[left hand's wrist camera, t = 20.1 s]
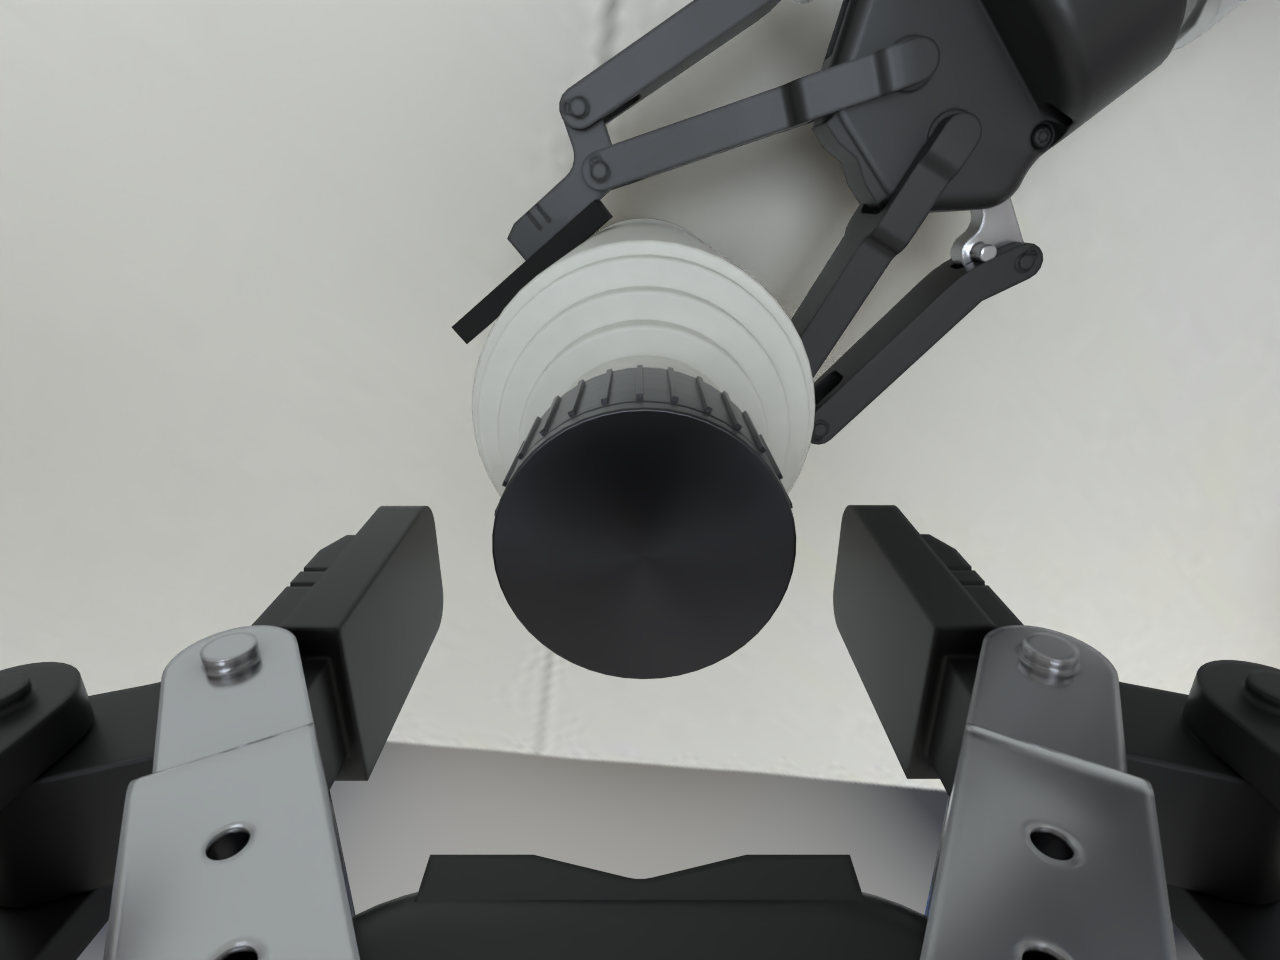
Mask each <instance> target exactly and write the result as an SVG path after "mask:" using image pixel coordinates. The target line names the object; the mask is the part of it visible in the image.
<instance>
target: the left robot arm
mask: <svg viewBox="0 0 1280 960" xmlns="http://www.w3.org/2000/svg"><path fill="white" fill-rule="evenodd" d="M290 584H291V585H290V587H286V588H285V589H284V590H283V592H282V593H281V594H280V595H279V596H278V597H277V598H276V599H275V600H274V601H273V603H272V604H271V605H270V606H269V607H268V608H267V609H266V610H265V611H264V612H263V613H262V615H261V616H260V617H259V618H258V619H257V620H256V621H255V622H254V623H253V624H252V626H246V627H239V628H235V629H230V630H227V631H223V632H220V633H217V634H214V635H211V636H209V637H206V638H204V639H202V640H200V641H198V642H196V643H194V644H192V645H191V646H189V647H187V648H186V649H184V650H183V651H181V652H180V653H179V654H178V655H176V656H175V657H174V658H173V659H172V660H171V661H170V662H169V663H168V665H167V666H166V668H165V669H164V671H163V674H162V679H161V682H159V683H154V684H150V685H145V686H139V687H134V688H129V689H124V690H118V691H113V692H108V693H103V694H97V695H92V696H88V695H87V692H86V689H85V686H84V684H83V681H82V678H81V675H80V673H79V671H78V670H77V669H76V668H75V667H73V666H71V665H68V664H65V663H58V662H41V663H31V664H26V665H20V666H16V667H12V668H8V669H4V670H1V671H0V960H76V959H77V958H78V957H79V956H80V954H81V953H82V952H83V951H84V949H85V948H86V947H87V946H88V945H89V943H90V942H91V941H92V940H93V938H94V937H95V936H96V935H97V933H98V932H99V931H100V930H101V928H102V927H103V926H104V925H105V924H106V922H107V921H108V927H107V934H106V942H105V949H104V956H103V960H1177V956H1176V949H1175V942H1174V935H1173V927H1172V921H1173V922H1174V923H1175V925H1176V926H1177V927H1178V928H1179V930H1180V931H1181V932H1182V933H1183V935H1184V936H1185V937H1186V938H1187V939H1188V941H1189V942H1190V943H1191V945H1192V946H1193V947H1194V948H1195V949H1196V951H1197V952H1198V953H1199V954H1200V956H1201V957H1202V958H1203V959H1204V960H1280V670H1279V669H1276V668H1273V667H1269V666H1265V665H1261V664H1257V663H1251V662H1246V661H1237V660H1219V661H1212V662H1209V663H1206V664H1204V665H1202V666H1201V667H1200V668H1199V669H1198V671H1197V674H1196V677H1195V679H1194V682H1193V685H1192V688H1191V691H1190V693H1189V695H1186V694H1180V693H1175V692H1170V691H1164V690H1159V689H1154V688H1149V687H1143V686H1138V685H1133V684H1127V683H1123V682H1119V679H1118V674H1117V671H1116V669H1115V668H1114V666H1113V665H1112V663H1111V662H1110V661H1109V660H1108V659H1107V658H1106V657H1105V656H1104V655H1102V654H1101V653H1100V652H1099V651H1097V650H1096V649H1094V648H1093V647H1091V646H1089V645H1088V644H1086V643H1084V642H1082V641H1080V640H1078V639H1076V638H1074V637H1071V636H1069V635H1066V634H1063V633H1060V632H1057V631H1053V630H1050V629H1045V628H1041V627H1034V626H1025V625H1023V624H1022V623H1021V621H1020V620H1019V619H1018V618H1017V617H1016V616H1015V615H1014V614H1013V613H1012V611H1011V610H1010V609H1009V608H1008V607H1007V606H1006V605H1005V604H1004V603H1003V601H1002V600H1001V599H1000V598H999V597H998V596H997V595H996V594H995V593H994V591H993V590H992V589H991V588H990V587H989V586H985V581H984V580H983V579H982V578H981V577H980V576H979V575H978V574H977V573H976V571H972V570H971V566H970V565H969V564H968V563H967V561H966V560H965V559H964V558H963V557H962V556H961V555H960V554H959V553H958V551H957V550H956V549H954V548H952V547H950V546H949V545H947V544H945V543H943V542H942V541H940V540H938V539H936V538H935V537H933V536H931V535H929V534H919V533H918V531H917V530H916V529H915V528H914V527H913V525H912V524H911V523H910V522H909V521H908V519H907V518H906V517H905V516H904V515H903V513H902V512H901V511H900V510H899V509H898V508H897V507H896V506H895V505H848V506H847V507H846V509H845V511H844V513H843V517H842V523H841V532H840V540H839V548H838V557H837V565H836V574H835V582H834V592H833V605H834V615H835V620H836V624H837V627H838V630H839V632H840V634H841V636H842V638H843V641H844V643H845V645H846V647H847V649H848V651H849V654H850V656H851V658H852V660H853V662H854V664H855V667H856V669H857V671H858V673H859V675H860V677H861V680H862V682H863V684H864V686H865V688H866V690H867V693H868V695H869V697H870V699H871V701H872V704H873V706H874V708H875V710H876V712H877V714H878V717H879V719H880V721H881V723H882V725H883V727H884V730H885V732H886V734H887V736H888V738H889V740H890V743H891V745H892V747H893V749H894V751H895V753H896V756H897V758H898V760H899V762H900V764H901V766H902V769H903V771H904V773H905V775H906V777H907V779H940V780H941V782H942V784H943V785H944V787H945V789H946V791H947V793H948V795H949V800H948V804H947V809H946V814H945V819H944V823H943V828H942V833H941V838H940V843H939V847H938V852H937V857H936V862H935V867H934V872H933V877H932V882H931V886H930V891H929V896H928V901H927V906H926V911H925V915H923V914H921V913H919V912H916V911H914V910H912V909H910V908H908V907H905V906H903V905H901V904H898V903H895V902H892V901H890V900H887V899H884V898H881V897H878V896H875V895H871V894H868V893H864V892H861V889H860V886H859V882H858V880H857V876H856V873H855V870H854V867H853V864H852V861H851V857H850V855H744V856H740V857H736V858H732V859H727V860H723V861H719V862H715V863H711V864H707V865H703V866H698V867H694V868H690V869H686V870H682V871H678V872H674V873H670V874H665V875H661V876H657V877H653V878H647V879H632V878H627V877H623V876H618V875H615V874H610V873H606V872H602V871H598V870H594V869H590V868H586V867H581V866H577V865H573V864H569V863H565V862H561V861H557V860H553V859H549V858H544V857H540V856H536V855H430V858H429V860H428V864H427V867H426V870H425V873H424V876H423V879H422V882H421V886H420V889H419V892H416V893H412V894H409V895H405V896H402V897H399V898H396V899H393V900H390V901H388V902H385V903H382V904H379V905H377V906H374V907H372V908H370V909H368V910H366V911H364V912H361V913H359V914H357V915H355V911H354V906H353V901H352V896H351V891H350V886H349V882H348V877H347V872H346V867H345V862H344V857H343V852H342V848H341V843H340V838H339V833H338V828H337V823H336V818H335V813H334V809H333V804H332V800H331V795H330V788H331V786H332V784H333V782H334V781H367V780H368V779H369V777H370V775H371V772H372V770H373V768H374V766H375V764H376V762H377V760H378V758H379V755H380V753H381V751H382V749H383V747H384V745H385V743H386V740H387V738H388V736H389V734H390V732H391V730H392V728H393V725H394V723H395V721H396V719H397V717H398V715H399V713H400V711H401V708H402V706H403V704H404V702H405V700H406V698H407V696H408V693H409V691H410V689H411V687H412V685H413V683H414V681H415V678H416V676H417V674H418V672H419V670H420V668H421V666H422V664H423V661H424V659H425V657H426V655H427V653H428V651H429V649H430V646H431V644H432V642H433V640H434V638H435V636H436V634H437V631H438V629H439V626H440V623H441V618H442V611H443V588H442V579H441V571H440V563H439V555H438V546H437V538H436V530H435V522H434V517H433V513H432V511H431V509H430V508H429V507H428V506H381V507H379V508H378V509H377V510H376V512H375V513H374V514H373V515H372V516H371V518H370V519H369V520H368V521H367V522H366V523H365V525H364V526H363V527H362V528H361V529H360V531H359V532H358V533H357V534H356V535H346V536H344V537H343V538H341V539H339V540H337V541H336V542H334V543H332V544H330V545H329V546H327V547H325V548H323V549H321V550H320V551H319V552H318V553H317V554H316V555H315V556H314V557H313V559H312V560H311V561H310V562H309V563H308V564H307V565H306V566H305V567H304V572H300V573H299V574H298V575H297V576H296V577H295V578H294V579H293V581H292V582H291V583H290Z"/></svg>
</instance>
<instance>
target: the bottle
mask: <svg viewBox="0 0 1280 960" xmlns="http://www.w3.org/2000/svg"><path fill="white" fill-rule="evenodd" d="M637 365H643V367H647V368H661V369H667V370H668V367H671V368H673V369H674V371H676V372H680V373H683V374H686V375H689V376H692V377H695V378H697V376H700V377H702V378H703V381H704V382H705V383H707V384H709V385H711V386H712V387H714V388H715V389H717V390H718V391H720V392H721V393H722V392H723V391H725V392H727V393H728V395H729V397H730V400H731V401H732V402H733V403H734V404H735V405H736V406H737V407H738V408H739V409H740V410H741V411H742V412H744V411H745V410H746V412H747V413H748V414H749V416H750V418H751V420H752V422H753V424H754V426H755V428H756V430H757V432H758V434H759V435H760V434H762V436H763V438H764V440H765V442H766V444H767V446H768V448H769V450H770V452H771V454H772V456H773V458H774V460H775V462H776V464H777V466H778V468H779V470H780V472H781V474H782V476H783V478H782V479H780V480H781V482H782V484H783V486H784V488H785V490H786V492H787V495H788V493H789V492H790V490H791V489H792V487H793V485H794V483H795V481H796V479H797V477H798V475H799V473H800V471H801V469H802V467H803V465H804V462H805V459H806V456H807V453H808V450H809V447H810V442H811V437H812V433H813V428H814V416H815V394H814V382H813V377H812V372H811V368H810V363H809V360H808V357H807V354H806V351H805V348H804V346H803V343H802V340H801V338H800V336H799V334H798V333H797V331H796V329H795V327H794V325H793V323H792V321H791V319H790V318H789V317H788V315H787V314H786V313H785V311H784V310H783V308H782V307H781V306H780V304H779V303H778V301H777V300H776V299H775V298H774V297H773V296H772V295H771V294H770V293H769V292H768V291H767V290H766V289H765V288H764V287H763V286H762V285H761V284H760V283H759V282H757V281H756V280H755V279H754V278H752V277H751V276H750V275H749V274H747V273H746V272H745V271H744V270H742V269H741V268H739V267H738V266H736V265H735V264H734V263H732V262H731V261H729V260H728V259H726V258H725V257H723V256H722V255H721V254H719V253H718V252H716V251H715V250H713V249H712V248H710V247H709V246H708V245H706V244H705V243H703V242H702V241H700V240H699V239H698V238H696V237H695V236H693V235H692V234H690V233H689V232H687V231H686V230H684V229H682V228H680V227H679V226H676V225H674V224H671V223H669V222H665V221H661V220H657V219H649V218H637V219H630V220H624V221H621V222H618V223H614V224H612V225H610V226H608V227H606V228H604V229H602V230H600V231H599V232H597V233H596V234H594V235H593V236H592V237H590V238H589V239H587V240H586V241H585V242H583V243H582V244H580V245H579V246H578V247H576V248H575V249H573V250H572V251H571V252H569V253H568V254H566V255H565V256H564V257H562V258H561V259H559V260H558V261H556V262H555V263H554V264H552V265H551V266H549V267H548V268H547V269H545V270H544V271H542V272H541V273H540V274H538V275H537V276H536V277H535V278H534V279H532V280H531V281H530V282H529V283H528V284H527V285H526V286H524V287H523V288H522V289H521V290H520V291H519V292H518V293H517V294H516V295H515V297H514V298H513V299H512V300H511V301H510V302H509V304H508V305H507V306H506V307H505V308H504V310H503V311H502V313H501V314H500V316H499V317H498V319H497V321H496V322H495V324H494V325H493V327H492V329H491V331H490V333H489V335H488V337H487V339H486V342H485V344H484V346H483V348H482V351H481V355H480V358H479V361H478V365H477V368H476V372H475V379H474V385H473V393H472V416H473V425H474V433H475V438H476V442H477V446H478V450H479V453H480V457H481V459H482V462H483V464H484V466H485V469H486V471H487V474H488V476H489V478H490V480H491V481H492V483H493V485H494V487H495V488H496V490H497V492H498V494H499V495H500V496H502V494H503V492H504V490H505V488H506V487H504V486H502V484H503V481H504V479H505V477H506V475H507V473H508V471H509V469H510V467H511V465H512V463H513V461H514V459H515V457H516V455H517V453H518V451H519V449H520V447H521V445H522V443H523V441H525V439H526V437H527V435H528V433H529V431H530V429H531V427H532V425H533V423H534V421H535V419H536V418H537V416H538V417H540V418H541V417H542V416H543V415H544V413H545V412H546V411H547V410H548V409H549V408H550V407H551V405H552V402H553V400H554V398H555V397H556V396H557V395H558V396H559V397H561V396H563V395H564V394H565V393H566V392H568V391H569V390H571V389H573V388H574V387H576V386H577V384H578V382H579V381H580V380H582V379H584V381H587V380H589V379H591V378H593V377H596V376H599V375H602V374H605V373H606V371H607V370H608V369H612V370H613V371H616V370H622V369H627V368H637Z"/></svg>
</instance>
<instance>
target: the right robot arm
mask: <svg viewBox="0 0 1280 960" xmlns="http://www.w3.org/2000/svg"><path fill="white" fill-rule="evenodd" d="M780 1H781V0H694V1H692V2H691V3H689V4H688V5H687V6H685V7H684V8H682V9H681V10H679V11H678V12H677V13H675V14H674V15H672V16H671V17H670V18H668V19H667V20H665V21H664V22H662V23H661V24H660V25H658V26H657V27H655V28H654V29H652V30H651V31H650V32H648V33H647V34H645V35H644V36H643V37H641V38H640V39H638V40H637V41H635V42H634V43H633V44H631V45H630V46H628V47H627V48H625V49H624V50H623V51H621V52H620V53H618V54H617V55H615V56H614V57H613V58H611V59H610V60H608V61H607V62H606V63H604V64H603V65H601V66H600V67H598V68H597V69H596V70H594V71H593V72H591V73H590V74H588V75H587V76H586V77H584V78H583V79H581V80H580V81H579V82H577V83H576V84H574V85H573V86H571V87H570V88H569V89H567V90H566V92H565V93H564V94H563V95H562V97H561V100H560V114H561V116H562V119H563V120H564V123H565V126H566V129H567V132H568V135H569V138H570V141H571V143H572V146H573V151H574V163H573V167H572V169H571V171H570V172H569V173H568V175H567V176H566V177H565V178H564V179H563V180H562V181H560V182H559V183H558V184H557V185H556V186H555V187H554V188H553V189H552V190H551V191H550V192H548V193H547V194H546V195H545V196H544V197H543V198H542V199H541V200H540V201H539V202H537V204H535V205H534V206H533V207H532V208H531V209H530V210H529V211H528V212H527V213H525V214H524V215H523V216H522V217H521V218H520V219H519V220H518V221H517V222H516V223H514V225H513V227H512V229H511V232H510V234H509V236H508V238H507V239H508V240H509V241H510V242H511V244H512V245H513V246H514V247H515V248H516V250H517V251H518V252H519V253H520V254H521V256H522V257H523V258H524V259H525V260H526V261H525V262H524V263H523V264H522V265H521V266H520V267H519V268H518V269H516V270H515V271H514V272H513V273H512V274H511V275H510V276H509V277H507V278H506V279H505V280H504V281H503V282H502V283H501V284H500V285H498V286H497V287H496V288H495V289H494V290H493V291H492V292H491V293H489V294H488V295H487V296H486V297H485V298H484V299H483V300H482V301H481V302H479V303H478V304H477V305H476V306H475V307H474V308H473V309H472V310H470V311H469V312H468V313H467V314H466V315H465V316H464V317H463V318H461V319H460V320H459V321H458V322H457V323H456V324H455V325H454V326H452V328H453V329H454V330H455V332H456V333H457V334H458V335H459V336H460V337H461V338H462V339H463V340H464V342H465V343H466V344H468V343H469V342H470V341H471V340H472V339H473V338H475V337H476V336H477V335H478V334H479V333H481V332H482V331H483V330H484V329H485V328H486V327H488V326H489V325H490V324H491V323H492V322H493V321H494V320H496V319H497V318H498V317H499V316H500V314H501V313H502V311H503V310H504V308H505V307H506V306H507V305H508V304H509V302H510V301H511V300H512V299H513V298H514V297H515V295H516V294H517V293H518V292H519V291H520V290H521V289H522V288H523V287H524V286H526V285H527V284H528V283H529V282H530V281H531V280H532V279H534V278H535V277H536V276H537V275H538V274H540V273H541V272H542V271H544V270H545V269H547V268H548V267H549V266H551V265H552V264H554V263H555V262H556V261H558V260H559V259H561V258H562V257H564V256H565V255H566V254H568V253H569V252H571V251H572V250H573V249H575V248H576V247H578V246H579V245H580V244H582V243H583V242H585V241H586V240H587V239H588V238H589V237H590V236H591V235H593V234H594V233H595V232H596V231H597V230H598V229H599V228H600V227H602V226H603V225H604V224H605V223H606V222H607V221H608V220H610V219H611V218H612V217H613V216H612V215H611V214H610V213H609V211H608V210H607V209H606V207H605V206H604V205H603V203H602V202H601V201H600V199H601V198H603V197H604V196H605V195H606V194H607V193H608V192H609V191H610V190H613V189H616V188H619V187H622V186H625V185H628V184H631V183H634V182H637V181H640V180H643V179H646V178H648V177H651V176H654V175H657V174H660V173H663V172H666V171H669V170H672V169H675V168H678V167H681V166H684V165H687V164H690V163H692V162H695V161H698V160H701V159H704V158H707V157H710V156H713V155H716V154H719V153H722V152H725V151H728V150H731V149H734V148H736V147H739V146H742V145H745V144H748V143H751V142H754V141H757V140H760V139H763V138H766V137H769V136H772V135H775V134H778V133H781V132H784V131H787V130H790V129H793V128H796V127H799V126H802V125H805V124H808V123H811V122H814V125H815V126H814V127H812V128H811V129H812V131H813V132H814V134H815V135H816V137H817V138H818V140H819V141H820V143H821V144H822V146H823V148H825V149H826V150H827V151H828V152H829V153H830V154H832V155H833V156H834V157H835V158H836V159H837V160H839V161H840V162H841V164H842V167H843V170H844V174H845V177H846V180H847V183H848V186H849V188H850V189H851V191H852V192H853V194H854V196H855V197H856V199H857V200H858V202H859V203H860V205H859V207H858V208H857V210H856V212H855V213H854V215H853V216H852V218H851V220H850V221H849V223H848V225H847V227H846V231H845V235H844V237H843V239H842V240H841V242H840V243H839V245H838V247H837V248H836V250H835V251H834V253H833V254H832V256H831V258H830V259H829V261H828V262H827V264H826V266H825V267H824V269H823V270H822V272H821V273H820V275H819V277H818V278H817V280H816V281H815V283H814V285H813V286H812V288H811V289H810V291H809V292H808V294H807V296H806V297H805V299H804V300H803V302H802V303H801V305H800V307H799V308H798V310H797V311H796V313H795V315H794V316H793V318H792V319H791V321H792V323H793V325H794V327H795V329H796V331H797V333H798V334H799V336H800V338H801V340H802V343H803V346H804V348H805V351H806V354H807V357H808V360H809V363H810V368H811V372H812V377H814V376H815V374H816V373H817V371H818V370H819V368H820V367H821V365H822V364H823V362H824V361H825V359H826V358H827V356H828V355H829V353H830V352H831V350H832V349H833V347H834V346H835V344H836V343H837V341H838V340H839V338H840V337H841V335H842V334H843V332H844V331H845V329H846V328H847V326H848V325H849V323H850V322H851V320H852V319H853V317H854V316H855V314H856V313H857V311H858V310H859V308H860V307H861V305H862V304H863V302H864V301H865V299H866V298H867V296H868V295H869V293H870V292H871V290H872V289H873V287H874V286H875V284H876V283H877V281H878V280H879V278H880V277H881V275H882V274H883V272H884V271H885V269H886V268H887V266H888V265H889V263H890V262H891V260H892V259H893V258H894V257H895V256H896V255H897V254H898V253H900V252H901V251H902V250H903V249H904V248H905V247H906V246H907V245H908V243H909V242H910V240H911V239H912V237H913V236H914V234H915V233H916V231H917V230H918V228H919V227H920V225H921V224H922V222H923V221H924V219H925V218H926V216H927V215H928V213H930V212H947V211H964V210H970V211H971V222H970V224H969V227H968V228H967V230H966V231H965V232H964V233H963V234H962V235H961V236H959V237H958V238H957V239H956V240H955V242H954V243H953V245H952V248H951V259H950V260H948V261H946V262H944V263H943V264H941V265H940V266H939V267H937V268H936V269H934V270H933V271H932V272H931V273H929V274H928V275H927V276H926V277H925V278H924V279H922V280H921V281H920V282H919V283H918V284H917V285H916V286H915V287H914V288H913V289H912V290H911V291H910V292H909V293H908V294H907V295H906V296H905V297H904V298H902V299H901V300H900V301H899V302H898V303H897V304H896V305H895V306H894V307H893V308H892V309H891V310H890V311H889V312H888V313H887V314H886V315H885V316H884V317H883V318H881V319H880V320H879V321H878V322H877V323H876V324H875V325H874V326H873V327H872V328H871V329H870V330H869V331H868V332H867V333H866V334H865V335H864V336H863V337H862V338H861V339H859V340H858V341H857V342H856V343H855V344H854V345H853V346H852V347H851V348H850V349H849V350H848V351H847V352H846V353H845V354H844V355H843V356H842V357H841V358H840V359H839V360H837V361H836V362H835V363H834V364H833V365H832V366H831V367H830V368H829V369H828V370H827V371H826V372H825V373H824V374H823V375H822V376H821V377H820V378H819V379H818V380H816V381H815V382H814V394H815V416H814V428H813V433H812V437H811V443H812V444H818V445H819V444H824V443H826V442H828V441H829V440H831V439H832V438H833V437H834V436H835V435H836V434H837V433H838V432H839V431H840V430H842V429H843V428H844V427H845V426H846V425H847V424H848V423H849V422H850V421H851V420H852V419H854V418H855V417H856V416H857V415H858V414H859V413H860V412H861V411H862V410H863V409H864V408H866V407H867V406H868V405H869V404H870V403H871V402H872V401H873V400H874V399H875V398H876V397H878V396H879V395H880V394H881V393H882V392H883V391H884V390H885V389H886V388H887V387H888V386H890V385H891V384H892V383H893V382H894V381H895V380H896V379H897V378H898V377H899V376H900V375H902V374H903V373H904V372H905V371H906V370H907V369H908V368H909V367H910V366H911V365H912V364H914V363H915V362H916V361H917V360H918V359H919V358H920V357H921V356H922V355H923V354H924V353H926V352H927V351H928V350H929V349H930V348H931V347H932V346H933V345H934V344H935V343H936V342H938V341H939V340H940V339H941V338H942V337H943V336H944V335H945V334H946V333H947V332H948V331H950V330H951V329H952V328H953V327H954V326H955V325H956V324H957V323H958V322H959V321H960V320H962V319H963V318H964V317H965V316H966V315H967V314H968V313H969V312H970V311H971V310H972V309H974V308H975V307H976V306H977V305H978V304H979V303H980V302H981V301H983V300H985V299H987V298H989V297H991V296H993V295H996V294H998V293H1000V292H1002V291H1004V290H1006V289H1008V288H1010V287H1012V286H1014V285H1017V284H1019V283H1021V282H1023V281H1025V280H1027V279H1029V278H1031V277H1032V276H1034V275H1035V274H1036V273H1037V272H1038V270H1039V269H1040V268H1041V265H1042V262H1043V253H1042V251H1041V249H1040V248H1039V247H1038V246H1036V245H1035V244H1031V243H1024V242H1023V239H1022V236H1021V232H1020V229H1019V225H1018V222H1017V218H1016V215H1015V211H1014V208H1013V205H1012V201H1011V198H1010V197H1011V196H1012V195H1013V194H1014V193H1015V192H1016V190H1017V189H1018V188H1019V186H1020V184H1021V183H1022V181H1023V179H1024V177H1025V175H1026V173H1027V172H1028V170H1029V169H1030V167H1031V166H1032V165H1033V164H1034V162H1035V161H1036V160H1037V159H1038V158H1039V157H1040V156H1041V155H1042V154H1043V153H1045V152H1046V151H1047V150H1049V149H1050V148H1051V147H1053V146H1054V145H1056V144H1057V143H1059V142H1060V141H1061V140H1063V139H1064V138H1065V137H1067V136H1068V135H1069V134H1071V133H1072V132H1073V131H1074V130H1076V129H1077V128H1078V127H1080V126H1081V125H1082V124H1084V123H1085V122H1086V121H1088V120H1089V119H1090V118H1092V117H1093V116H1094V115H1095V114H1097V113H1098V112H1099V111H1101V110H1102V109H1103V108H1105V107H1106V106H1107V105H1109V104H1110V103H1111V102H1113V101H1114V100H1115V99H1116V98H1118V97H1119V96H1120V95H1122V94H1123V93H1124V92H1126V91H1127V90H1128V89H1130V88H1131V87H1132V86H1134V85H1135V84H1136V83H1137V82H1139V81H1140V80H1141V79H1143V78H1144V77H1145V76H1147V75H1148V74H1149V73H1151V72H1152V71H1153V70H1154V69H1156V68H1157V67H1158V66H1159V65H1161V64H1162V62H1163V61H1164V60H1165V59H1166V58H1167V57H1168V55H1169V54H1170V52H1171V50H1174V49H1177V48H1181V47H1183V46H1185V45H1187V44H1188V43H1190V42H1191V41H1193V40H1194V39H1196V38H1198V37H1199V36H1200V35H1202V34H1203V33H1204V32H1205V31H1207V30H1208V29H1209V28H1211V27H1212V26H1213V25H1214V24H1216V23H1217V22H1218V21H1220V20H1221V19H1222V18H1223V17H1225V16H1226V15H1227V14H1229V13H1230V12H1231V11H1232V10H1234V9H1235V8H1236V7H1237V6H1239V5H1240V4H1241V3H1243V2H1244V1H1245V0H843V3H842V7H841V10H840V13H839V16H838V19H837V22H836V25H835V29H834V32H833V35H832V38H831V41H830V44H829V47H828V51H827V54H826V57H825V60H824V63H823V66H822V69H821V71H819V72H816V73H813V74H810V75H808V76H805V77H802V78H799V79H797V80H794V81H792V82H790V83H787V84H785V85H783V86H780V87H777V88H774V89H771V90H769V91H766V92H763V93H760V94H757V95H754V96H751V97H748V98H746V99H743V100H740V101H737V102H734V103H731V104H728V105H726V106H723V107H720V108H717V109H714V110H711V111H708V112H705V113H703V114H700V115H697V116H694V117H691V118H688V119H685V120H683V121H680V122H677V123H674V124H671V125H668V126H665V127H662V128H660V129H657V130H654V131H651V132H648V133H645V134H642V135H639V136H637V137H634V138H631V139H628V140H625V141H622V142H619V143H617V144H614V145H612V143H611V140H610V137H609V134H608V131H607V128H606V124H607V123H609V122H610V121H612V120H613V119H614V118H616V117H617V116H619V115H620V114H622V113H623V112H625V111H626V110H628V109H629V108H631V107H632V106H634V105H635V104H636V103H638V102H639V101H641V100H642V99H644V98H645V97H647V96H648V95H650V94H651V93H653V92H654V91H655V90H657V89H658V88H660V87H661V86H663V85H664V84H666V83H667V82H669V81H670V80H672V79H673V78H675V77H676V76H677V75H679V74H680V73H682V72H683V71H685V70H686V69H688V68H689V67H691V66H692V65H694V64H695V63H697V62H698V61H699V60H701V59H702V58H704V57H705V56H707V55H708V54H710V53H711V52H713V51H714V50H716V49H717V48H718V47H720V46H721V45H723V44H724V43H726V42H727V41H729V40H730V39H732V38H733V37H735V36H736V35H738V34H739V33H740V32H742V31H743V30H745V29H746V28H748V27H749V26H751V25H752V24H754V23H755V22H757V21H758V20H759V19H761V18H762V17H763V16H764V15H766V14H767V13H768V12H770V11H771V10H772V9H773V8H774V7H775V6H776V5H777V4H778V3H779V2H780ZM794 1H796V2H798V3H808V2H811V1H812V0H794Z"/></svg>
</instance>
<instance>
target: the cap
mask: <svg viewBox="0 0 1280 960" xmlns="http://www.w3.org/2000/svg"><path fill="white" fill-rule="evenodd" d="M782 478H783V476H782V474H781V472H780V470H779V468H778V466H777V464H776V462H775V460H774V458H773V456H772V454H771V452H770V450H769V448H768V446H767V444H766V442H765V440H764V438H763V436H762V434H760V435H759V434H758V432H757V430H756V428H755V426H754V424H753V422H752V420H751V418H750V416H749V414H748V413H747V412H746V410H745V411H744V412H742V411H741V410H740V409H739V408H738V407H737V406H736V405H735V404H734V403H733V402H732V401H731V400H730V397H729V395H728V393H727V392H725V391H723V392H722V393H721V392H720V391H718V390H717V389H715V388H714V387H712V386H711V385H709V384H707V383H705V382H704V381H703V378H702V377H700V376H697V378H695V377H692V376H689V375H686V374H683V373H680V372H676V371H674V369H673V368H671V367H668V370H667V369H661V368H647V367H643V365H637V368H627V369H622V370H616V371H613V370H612V369H608V370H607V371H606V373H605V374H602V375H599V376H596V377H593V378H591V379H589V380H587V381H584V379H582V380H580V381H579V382H578V384H577V386H576V387H574V388H573V389H571V390H569V391H568V392H566V393H565V394H564V395H563V396H561V397H559V396H558V395H557V396H556V397H555V398H554V400H553V402H552V405H551V407H550V408H549V409H548V410H547V411H546V412H545V413H544V415H543V416H542V417H541V418H540V417H538V416H537V418H536V419H535V421H534V423H533V425H532V427H531V429H530V431H529V433H528V435H527V437H526V439H525V441H523V443H522V445H521V447H520V449H519V451H518V453H517V455H516V457H515V459H514V461H513V463H512V465H511V467H510V469H509V471H508V473H507V475H506V477H505V479H504V481H503V484H502V486H504V487H506V488H505V490H504V492H503V494H502V496H501V499H500V502H499V504H498V506H497V508H496V510H495V520H494V527H493V534H492V551H493V559H494V566H495V571H496V574H497V578H498V581H499V584H500V587H501V589H502V592H503V594H504V596H505V598H506V600H507V602H508V604H509V606H510V607H511V609H512V610H513V612H514V613H515V615H516V617H517V618H518V619H519V621H520V622H521V623H522V624H523V625H524V626H525V628H526V629H527V630H528V631H529V632H530V633H531V634H532V635H533V636H534V637H535V638H536V639H537V640H538V641H540V642H541V643H542V644H543V645H544V646H546V647H547V648H549V649H550V650H551V651H553V652H554V653H556V654H557V655H559V656H561V657H562V658H564V659H566V660H568V661H570V662H572V663H574V664H576V665H579V666H581V667H583V668H586V669H588V670H591V671H595V672H598V673H602V674H605V675H610V676H616V677H622V678H634V679H655V678H666V677H672V676H679V675H682V674H686V673H690V672H694V671H697V670H700V669H702V668H705V667H707V666H710V665H712V664H715V663H716V662H718V661H720V660H722V659H724V658H726V657H728V656H730V655H731V654H733V653H734V652H735V651H737V650H738V649H740V648H741V647H743V646H744V645H745V644H746V643H748V642H749V641H750V640H751V639H752V638H753V637H754V636H755V635H757V634H758V633H759V631H760V630H761V629H762V628H763V627H764V626H765V625H766V623H767V622H768V621H769V620H770V618H771V617H772V615H773V614H774V612H775V611H776V609H777V608H778V606H779V605H780V603H781V601H782V599H783V597H784V594H785V592H786V590H787V588H788V585H789V582H790V579H791V576H792V573H793V567H794V562H795V556H796V532H795V524H794V518H793V514H792V510H791V508H793V507H792V503H791V501H790V499H789V497H788V495H787V492H786V490H785V488H784V486H783V484H782V482H781V480H780V479H782Z"/></svg>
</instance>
